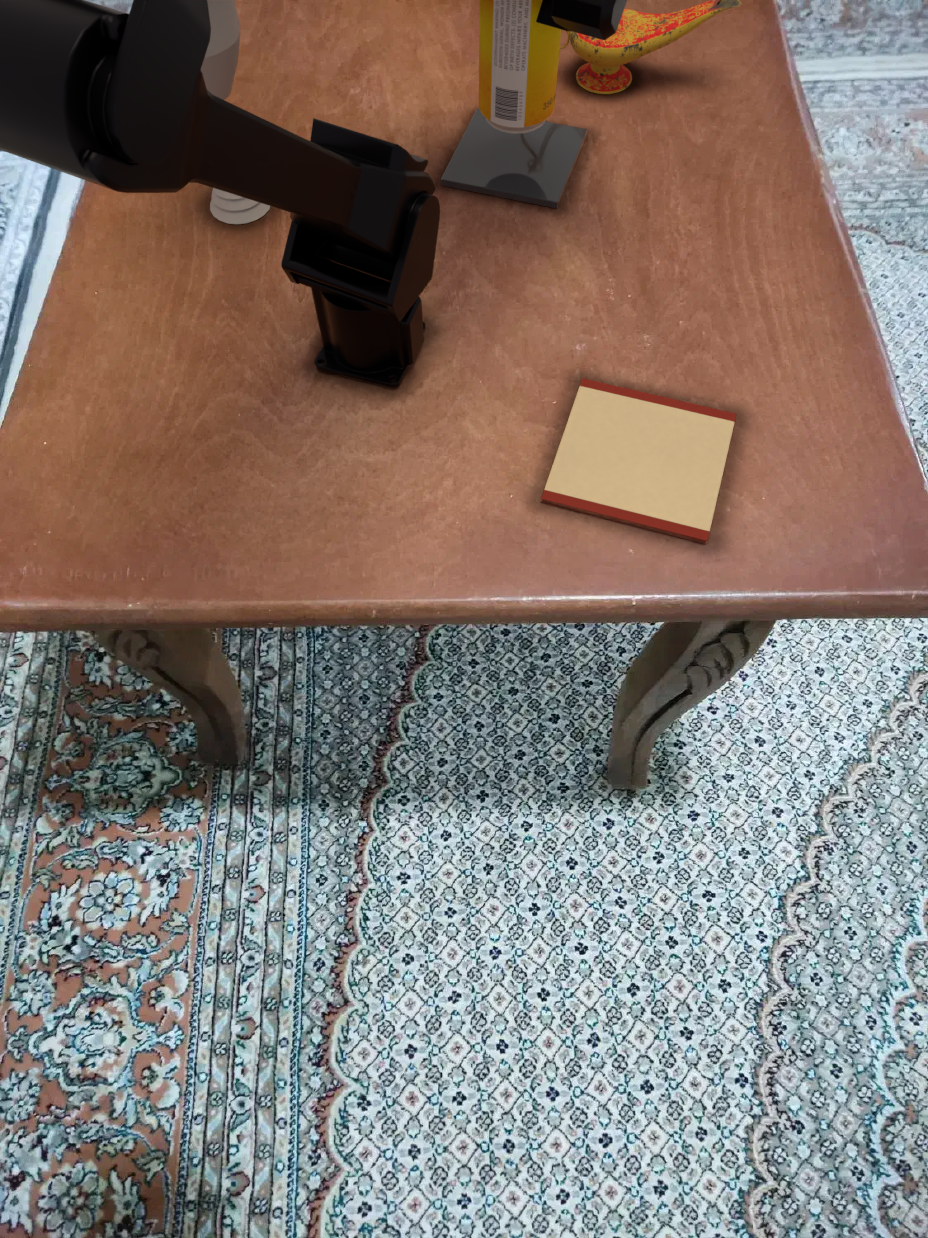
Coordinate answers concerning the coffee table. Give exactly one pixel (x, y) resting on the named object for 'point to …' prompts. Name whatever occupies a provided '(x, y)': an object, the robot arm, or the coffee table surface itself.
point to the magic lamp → (635, 43)
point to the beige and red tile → (641, 460)
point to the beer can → (516, 65)
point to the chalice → (219, 83)
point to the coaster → (515, 161)
